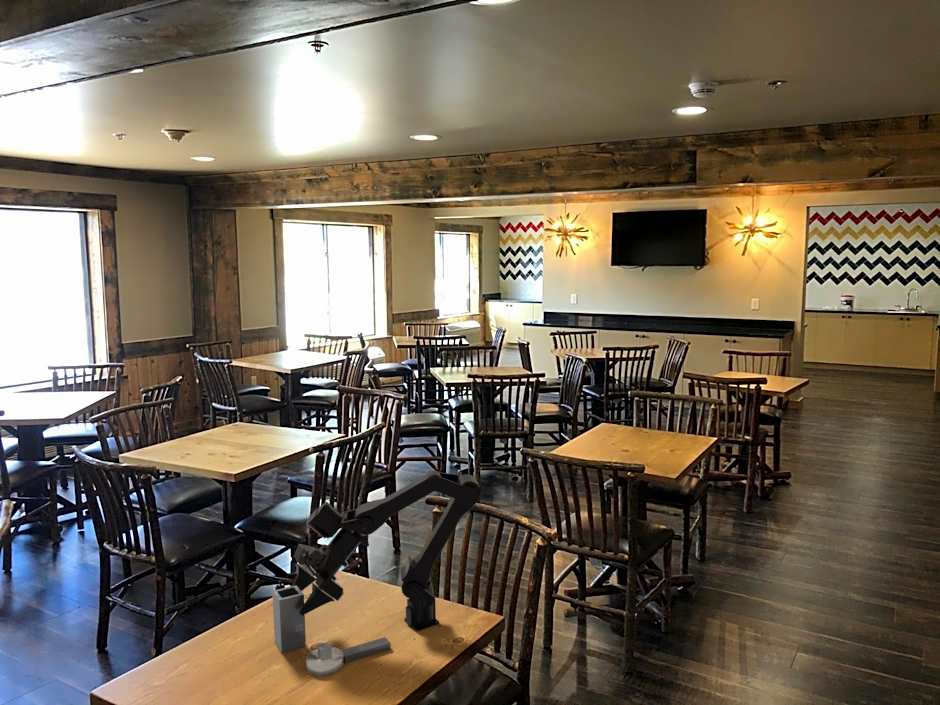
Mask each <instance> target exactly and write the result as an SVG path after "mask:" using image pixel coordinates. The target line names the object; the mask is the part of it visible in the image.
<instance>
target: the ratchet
mask: <svg viewBox="0 0 940 705" xmlns="http://www.w3.org/2000/svg"><path fill="white" fill-rule="evenodd" d="M316 647H317V648H315V649H313V650H312V651H310V652H309V653H308V654H307V656H306V658H305V662H306V663H305V665H306V666H305V667H306V671H307V672H308V673H309V674H310V675H313V676H320V677H321V676H322V677H323V676H329V675H332V674H337V672H339V671H341V669H342V668H343V667H344V664H347V663H350V662H353V661H356V660H359V659H363V658H366V657H369V656H372V655H375V654H379V653H382V652H385V651H389V650H391V649H392V648H391V647H392V643H391V641H390V640H389V639H388V638H387V637H385V636H384V637H380V638H377V639H374V640H370V641H367V642H364V643H361V644H357V645H354V646H350V647H347V648H343V649H340V648H338V647H334V646H332V645H331V644H330V643H329V641H326V642H322V643H319V644H317V646H316Z"/></svg>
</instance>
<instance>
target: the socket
mask: <svg viewBox="0 0 940 705" xmlns="http://www.w3.org/2000/svg"><path fill="white" fill-rule="evenodd" d="M304 603H305V593H303V591H301V590H300V589H299V588H298V587H297V585H295V586H292V585H291V586H287V587H283V588H279V589H275V590H272V606H273V607H272V608H273V609H272V610H273V612H272V613H273V628H274V629H273V630H274V631H273V632H274V644H276V646H277V648H278V649H279V651H280V653H281V654H283V653H287V652H290V651H294V650H297V649H301V648H305V647H306V646H307V639H306V618H305V617H306V616H305V615H306V614H305V615H301V614H300V613H299V612H300V610H301V608H302V607H303V605H304Z"/></svg>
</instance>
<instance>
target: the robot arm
mask: <svg viewBox="0 0 940 705" xmlns="http://www.w3.org/2000/svg"><path fill="white" fill-rule="evenodd" d="M434 492H436V493H441V494H443V495H445V496H447V497H449V499H448V502H447V506H446V508H445V509H444V511H443V513H442V515H441V516H440V518H439V519H438V521H437V523H436V525H435V526H434V528H433V530H432V532H431V533H430V535H429V537H428V538H427V540H426V541H425V543H424V545H423V547H422V548H421V550H420V552H419V553H418V554H417V555H416V556H415V557H414V558H412V557H411V556H408V557H407V558H406V561H405V563H404V565H403V566H402V567H400V570H399V571H400V589H401V592H402V595H403V596H404V597H406V598H407V599H406V606H405V618H404V619H403V620H404V622H405V623H406V624H408V626H410V627H411V628H412V629H413V630H415V631H417V632H420V631H422V630H426V629H428V628H430V627H434V626H437V625H439V624H440V621H439V620H438V619H437V618H436V616H437V615H436V614H437V613H436V611H437V610H436V608H437V607H436V596H435V593H434V588H433V583H432V581H431V580H430V577H431V573H432V570H433V566H434V565H435V563H436V561H437V560H438V558H439V556H440V555H441V552H443V549H444V548H445V545H446V544H447V542H448V541H449V539H450V537H451V536H452V534H453V532H454V531H455V530H456V527H457V525H458V524H459V523H460V520H461V519H462V518H463V516H464V515H466V514H468V512H469V511H471V510H473V508H474V506H475V505H477V503H478V502H479V500H480V498H481V497H482V491H481V487H480V485H479V482H478V481H477V479H476V477H475V476H474V475H471V474H466V473H465V474H461V475H459V474H455V473H450V472H449V473H448V472H441V471H437V470H431V471H428V472H427V473H426V474H425V475H423V476H421V477H419V478H417V479H416V480H414V481H413V482H411V483H409V484H407V485H406V486H404V487H402V488H400V489H398V490H397V491H395V492H393V493H391V494H389V495H388V496H386V497H384V498H381V499H374V500H371V501H368V502H365V503H362V504H360V505H359V506H358V507H356V508H354V509H350V510H346V511H343V512H341V513H340V512H339V511H338V510H337V509H335V508H334V507H333V506H332V505H331V504H330V503H329V502H328V501H325V502H324V503H323V504H321V505H320V506H319V507H317V508H315V510H314V511H313V512H312V513H311V514H310V515H309V517H308V518H307V521H306V523H305V524H306V525H307V526H308V527H309V528H311V529H312V530H313V531H314V532H315V533H317V534H318V535H319V536H320V537H321V538H323V539H330V538H332V539H331V541H330V542H329V543H328V545H327V544H321V546H320V547H319V548H317V547H315V546H310V545H307V544H303V543H298V545H297V548H296V550H295V551H294V555H293V558H294V560H295V561H296V562H295V567H296V575H295V577H294V580H293V582H292V584H291V586H295V585H297V587H298V588H299V589H300V590H301V592H303V591H304V590H305V589H307V588H308V587H309V586H310V585H311V588H312V589H311V592H310V595H309V596H308V597H307V599H306V601H304V605H303V607H302V608H301V610H300V612H299V613H300V614H301V615H307V614H308V613H311V612H312V611H315V610H316V609H319V608H320V607H322V606H324V605H326V604H328V603H330V602H333V603H334V602H335V601H336V602H339V600H341V598H342V597H343V595H344V588H343V586H342V585H340V583H338V581H336V580H337V577H336V576H335V575H336V574H337V573H338V572H339V571H340V569H341V568H342V567H344V568H346V567H347V566H348V565H349V563H348V559H349V558H350V556H352V554H353V553H354V552H355V551H356V549H357V548H358V546H359V545H360V544H362V545H364V546H365V547H366V548H368V547H370V544H369V543H370V542H369V536H370V535H372V534H373V533H375V532H376V531H377V530H378V529H380V528H381V527H382V526H383V525H385V523H386V522H387V521H389V519H390V518H391V517H392V516H394V515H395V514H396V513H398V512H400V511H402V510H404V509H406V508H407V507H409V506H411V505H413V504H415V503H416V502H418V501H420V500H422V499H423V498H425V497H427V496H428V495H430V494H432V493H434Z"/></svg>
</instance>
